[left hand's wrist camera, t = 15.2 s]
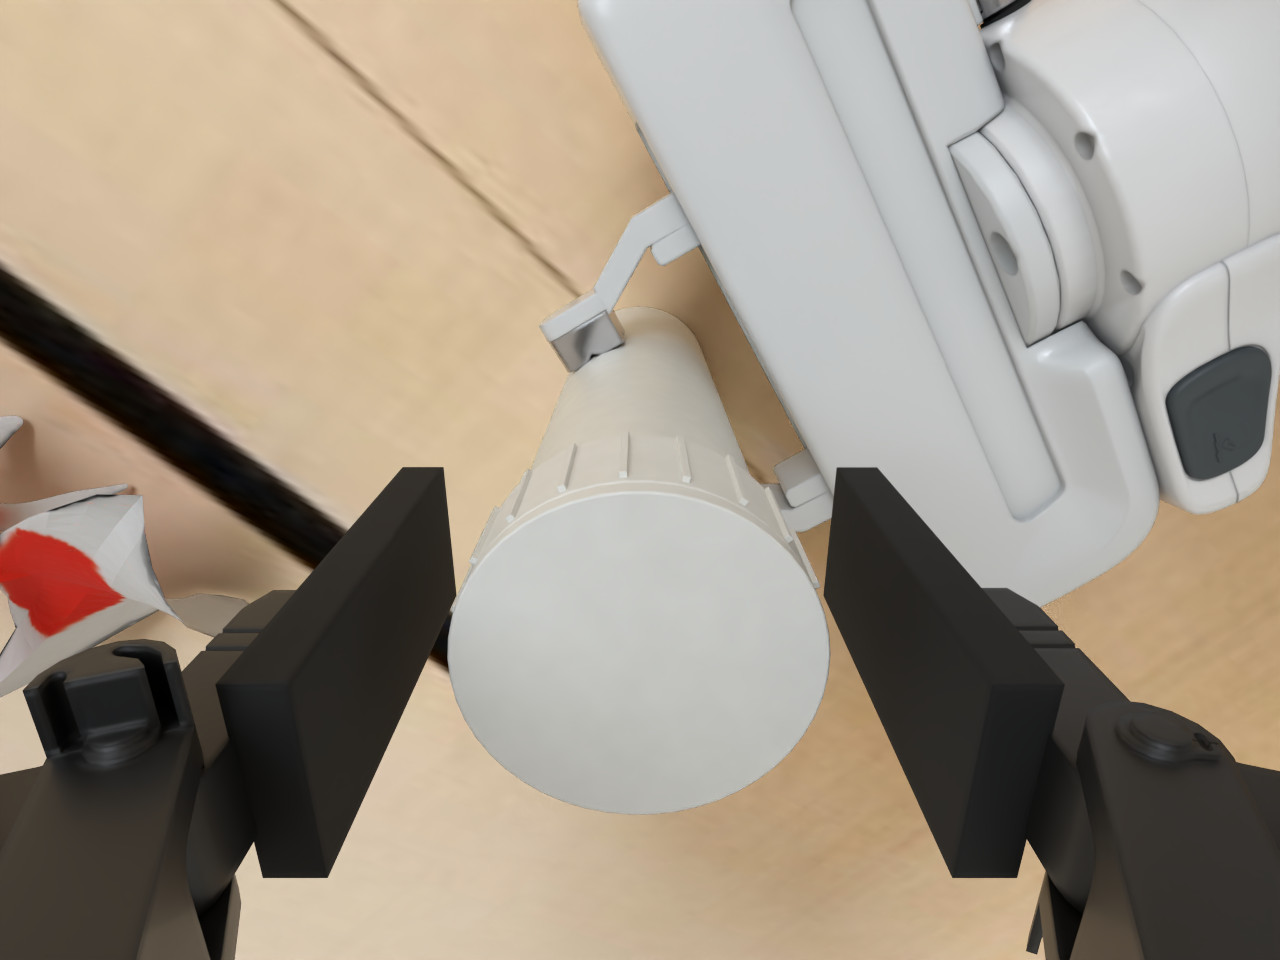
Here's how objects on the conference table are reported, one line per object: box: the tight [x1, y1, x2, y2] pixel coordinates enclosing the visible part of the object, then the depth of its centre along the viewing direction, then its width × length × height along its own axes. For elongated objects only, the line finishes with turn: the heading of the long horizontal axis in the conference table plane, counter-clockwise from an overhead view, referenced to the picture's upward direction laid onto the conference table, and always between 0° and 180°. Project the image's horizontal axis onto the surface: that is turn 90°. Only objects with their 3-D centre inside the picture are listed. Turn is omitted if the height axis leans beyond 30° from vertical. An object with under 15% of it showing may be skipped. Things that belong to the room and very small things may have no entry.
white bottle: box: [530, 307, 750, 474], centre depth 19 cm, size 5×5×17 cm
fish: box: [0, 416, 249, 697], centre depth 25 cm, size 11×16×10 cm
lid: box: [448, 431, 830, 815], centre depth 11 cm, size 5×5×2 cm
